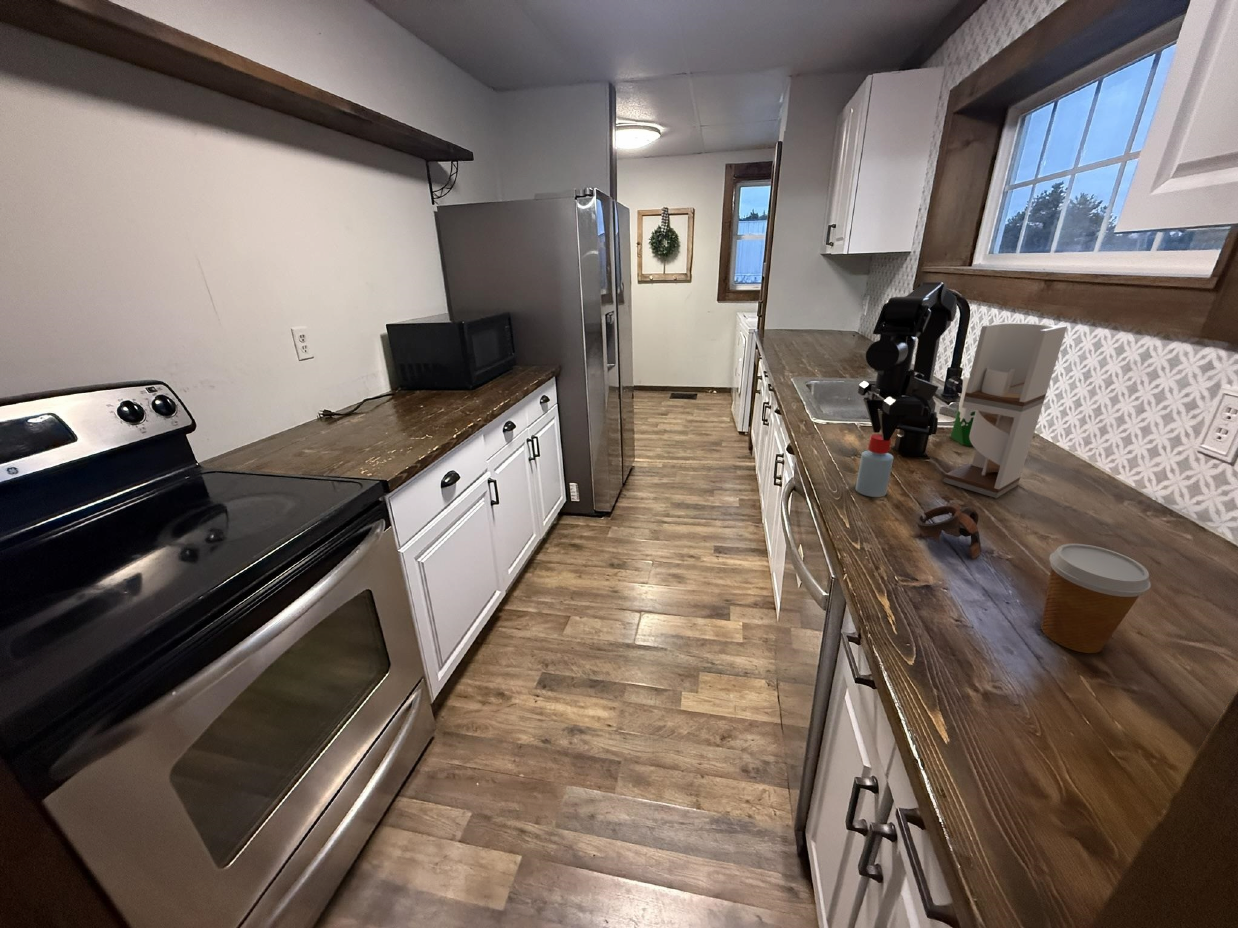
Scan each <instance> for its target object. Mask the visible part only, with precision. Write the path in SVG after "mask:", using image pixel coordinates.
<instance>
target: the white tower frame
mask: <svg viewBox="0 0 1238 928" xmlns="http://www.w3.org/2000/svg"><path fill="white" fill-rule="evenodd" d="M1067 328H1068V325H1059V324H1058V325H1056V324H1042V323H1041V324H1040V323H1027V322H1025V323H1024V322H1013V321H1012V322H1009V321H1004V322H997V323H992V324H987V325H982V326H981V328H980V333H979V337H978V341H977V345H976V349H975V352H974V356H973V361H972V365H971V368H970V373H969V376H970V377H969V381H968V385H967V389H966V393H965V397H964V401H963V405H962V408H967V409H972V410H976V412H975V416H974V419H973V423H972V427H971V431H970V435H969V439H970V442H971V444H972V445H973V448H974V449H975V451H974V456H973V459H972V463H971V462H967V463H964V464H963V465H961V466H958V467H956V468H954V469H952V470H950V471H948V472H946V473H945V474H944V478H943V481H942V482H943V483H945V484H948V485H952V486H954V487H959V488H962V489H965V490H968V491H971V492H975V493H978V494H981V495H984V496H988V497H991V498H995V499H998V498H999V497H1000V496H1002V495H1004V494H1006V493H1007V492H1009V491H1011V490H1012V489H1014V488H1016V487H1017V486H1019V482H1020V481H1021V480H1020V479H1021V476H1022V473H1023V470H1024V467H1025V464H1026V460H1027V457H1028V454H1029V450H1030V447H1031V444H1032V441H1033V438H1034V435H1035V431H1036V428H1037V425H1038V422H1039V420H1040V415H1041V412H1042V409H1043V405H1044V403H1045V399H1046V396H1047V393H1048V389H1049V386H1050V383H1051V380H1052V376H1053V374H1054V371H1055V367H1056V364H1057V361H1058V359H1059V355H1060V352H1061V348H1062V346H1063V345H1062V344H1063V342H1064V338H1065V335H1066V332H1067Z"/></svg>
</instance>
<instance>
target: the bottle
mask: <svg viewBox="0 0 1238 928" xmlns="http://www.w3.org/2000/svg"><path fill="white" fill-rule="evenodd" d="M894 459H895V458H894V455H892V454H891V453H889V452H888V453H885V454H879V453H874V452H871V451H869V449H868V450H864V451H862V452H861V455H860V462H859V468H858V471H857V472H858V473H857V479H856V483H855V491H856V492H857V493H858V494H860V495H863V496H866V497H871V498H882V497H885V496H886V495H887V493H888V492H887V491H888V487H889V481H890V477H891V472H892V469H893V463H894V462H893V461H894Z"/></svg>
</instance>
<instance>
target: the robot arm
mask: <svg viewBox="0 0 1238 928" xmlns="http://www.w3.org/2000/svg"><path fill="white" fill-rule="evenodd" d="M916 287H917V288H915V289H914V290H912V291H911V292H910V293H908V294H907V295H905V296H891V297H890V298H889V299H887V301H886V302H885V303H884V304H883V305H882V307H881V309H880V313H879V315H878V319H877V321H876V323H875V326H874V329H873V331H872V334H873V335H877V336H879V339H878V340H875V341H874V342H873V343H871V344H870V345H869V346H868V348H867V350H866V352H865V361H866V363H867V365H868V366H869V367H870V368H871V369H873V371H874V372H876V379H875V380H863V381H862V382H861V383H859V385H858V390H857V393H858V394H859V395H860V396H865V397H862V400H863V402H864V406H865V408H866V411H867V414H868V417H869V421H870V424H871V428H872V431H873V433H874V434H879V433H880V432H881V435H882V437H883V440H884V441H889V440H890V438H891V439H892V437H893V435H894V433H895V431H896V430H899V431H898V433H897V434H896V436H895V440H894V441H895V442H894V445H893V447H892V449H894V450H895V451H896V452H897V453H899V455H901V456H903V457H928V456H929V454H928V453H927V452H926V451H927V448H928V442H929V438H930V436H932V435H936V434H937V431H938V425H939V418H938V412H937V411H936V405H937V403H936V401H935V399H934V396H935V394H936V392H937V391H938V389H939V388H940V386H938V385H937V384H934V383H933V380H934V375H935V368H936V364H937V363H936V362H937V358H938V353H939V347H940V341H941V337H942V336H943V335H944V333H946V331H947V330H948V329H949V328H950V327H951V324H952V323H953V322H954V320H955V318H956V314H957V308H958V301H957V296H956V295H955V294H953V293H951V291H950V290H948V289H947V283H944V282H942V281H934V282H933V281H924V282H922V283H918V285H917V286H916ZM916 343H917V345H916ZM915 348H916V351H915ZM914 353H915V357H914ZM913 357H914V364H913V368H911V367H912V361H913Z"/></svg>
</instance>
